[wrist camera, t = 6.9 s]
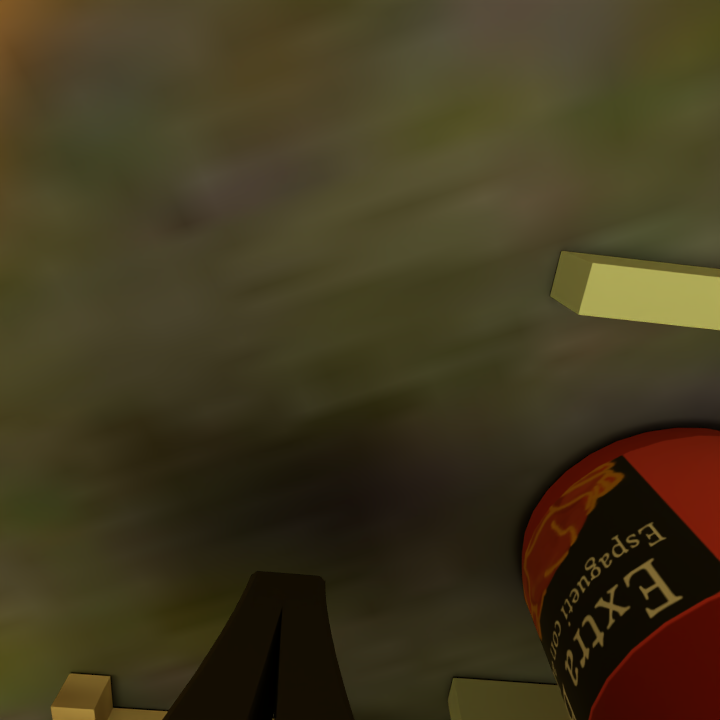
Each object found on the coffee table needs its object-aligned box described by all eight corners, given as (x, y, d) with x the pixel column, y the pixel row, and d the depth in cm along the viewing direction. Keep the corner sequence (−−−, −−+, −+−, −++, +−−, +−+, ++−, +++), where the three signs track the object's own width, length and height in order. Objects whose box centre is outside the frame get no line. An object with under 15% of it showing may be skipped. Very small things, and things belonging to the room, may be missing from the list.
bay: (782, 723, 16) (822, 776, 15) (447, 700, 16) (456, 752, 14) (1038, 305, 11) (1136, 324, 10) (561, 250, 11) (592, 262, 9)
